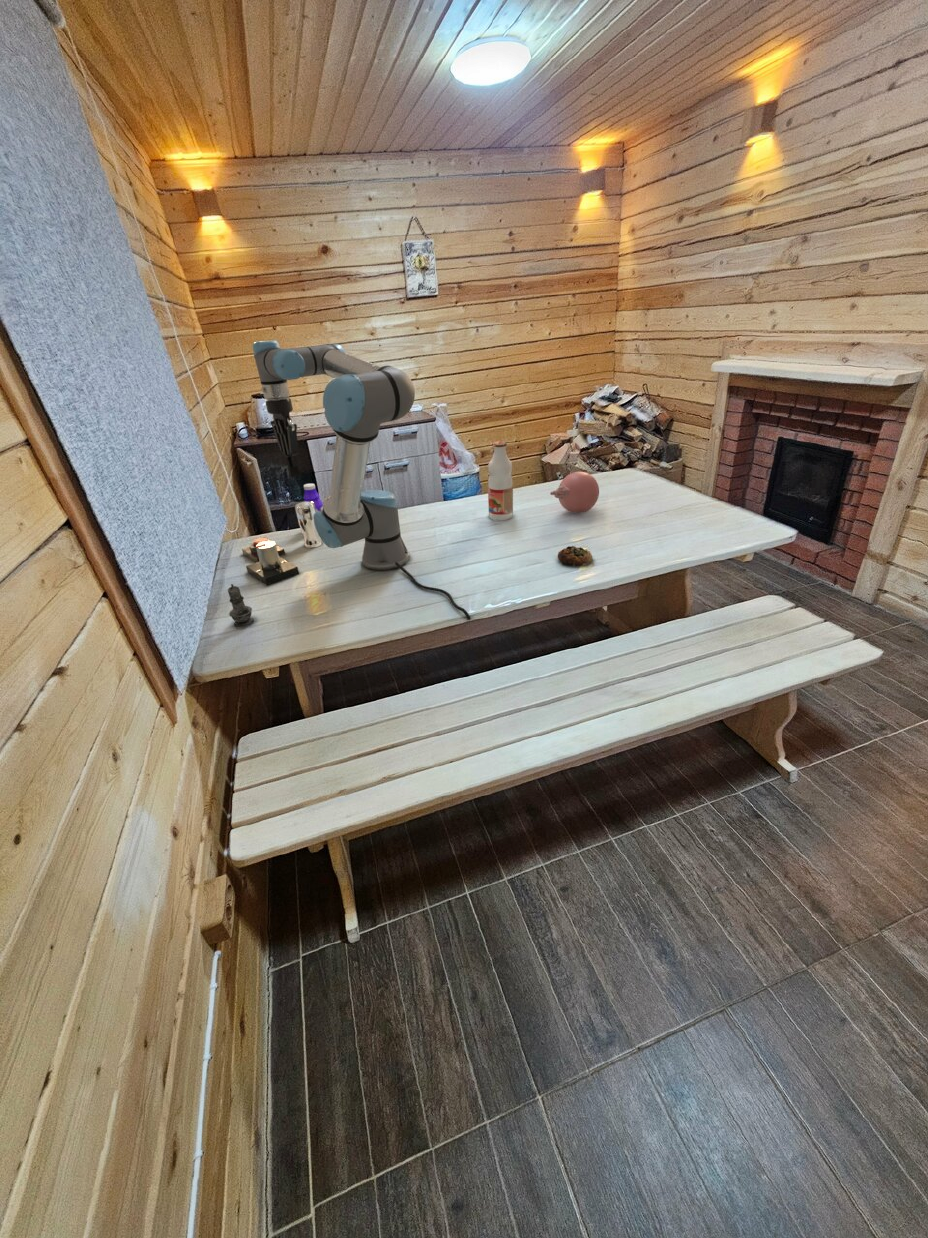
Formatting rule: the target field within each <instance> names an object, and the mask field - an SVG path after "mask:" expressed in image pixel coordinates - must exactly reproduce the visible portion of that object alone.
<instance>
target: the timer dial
mask: <svg viewBox="0 0 928 1238" xmlns="http://www.w3.org/2000/svg"><path fill="white" fill-rule="evenodd" d="M276 545H277V544H276V542H275V541H274V540H272V541H265V542H261V543H259V544H257V545H256V550H257V553H258V557H259V560H260V564H261V567H262V569H263V570H273V569H276V568H278V567H280V566H281V563H280V559H279V555H278V551H277V547H276Z"/></svg>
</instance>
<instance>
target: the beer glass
mask: <svg viewBox="0 0 928 1238" xmlns="http://www.w3.org/2000/svg"><path fill="white" fill-rule="evenodd" d="M294 509H295V515H296V519H297V522H298V526H299V528H300V530H301V533H302V535H303V540H304V541H303V544H304V547H305V548H307V549H308V548H309V549H313V548H314V549H315V548H317V547H320V546H321V545H322V543H323V541H322V540H321V538H320V536H319V535H318V532H317V530H316V528H315V525H314V520H313V516H314V513H316V508H315V505H314V502H311V501H306V502H304V501H301V502H298V503H296V504H294Z"/></svg>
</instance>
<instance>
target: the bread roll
mask: <svg viewBox="0 0 928 1238" xmlns="http://www.w3.org/2000/svg"><path fill="white" fill-rule="evenodd" d="M557 559H558V560H557V561H559V562H560V563H561V565H562V566H566V567H581V566H584V565H585V566H587V565H589V564H591V563H592V562H593V555H592V552H591V551H589V550H588V549H586V548H585V549H584V548H583V547H577V546H575V545H571V546H569V545H568V546H566V547H565V548H562V549H561V550H560V551H558V554H557Z"/></svg>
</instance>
